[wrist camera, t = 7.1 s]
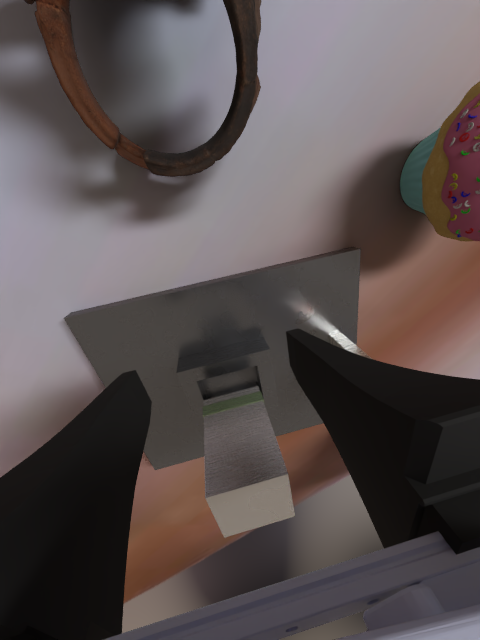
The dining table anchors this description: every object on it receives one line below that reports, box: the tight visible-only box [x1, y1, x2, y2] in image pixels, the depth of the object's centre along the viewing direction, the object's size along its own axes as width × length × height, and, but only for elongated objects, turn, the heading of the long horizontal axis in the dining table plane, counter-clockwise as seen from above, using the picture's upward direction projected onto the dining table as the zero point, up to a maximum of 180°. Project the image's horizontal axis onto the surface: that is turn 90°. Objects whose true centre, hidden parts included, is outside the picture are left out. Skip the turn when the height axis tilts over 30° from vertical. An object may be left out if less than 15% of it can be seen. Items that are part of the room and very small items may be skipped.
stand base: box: [64, 247, 372, 470], centre depth 17 cm, size 18×22×9 cm
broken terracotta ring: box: [24, 0, 261, 177], centre depth 10 cm, size 12×10×8 cm
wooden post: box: [203, 386, 295, 538], centre depth 14 cm, size 4×4×6 cm
